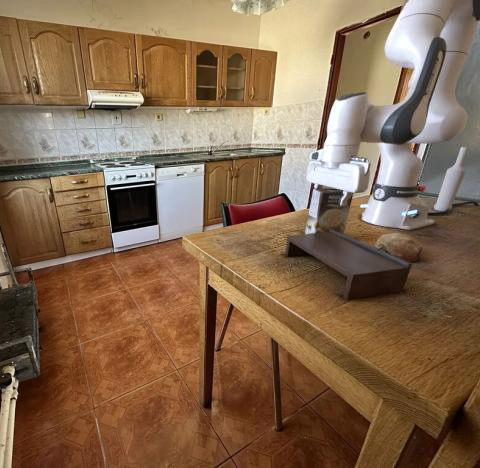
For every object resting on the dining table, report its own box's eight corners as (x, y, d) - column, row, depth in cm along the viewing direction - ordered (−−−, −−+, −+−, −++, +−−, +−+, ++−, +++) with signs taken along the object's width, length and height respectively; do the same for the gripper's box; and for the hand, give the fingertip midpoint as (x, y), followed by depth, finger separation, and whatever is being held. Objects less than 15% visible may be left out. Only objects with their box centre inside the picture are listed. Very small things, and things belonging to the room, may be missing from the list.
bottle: (439, 211, 106) (463, 147, 97) (430, 208, 111) (451, 147, 101) (454, 211, 105) (479, 147, 96) (443, 208, 110) (466, 146, 101)
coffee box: (312, 242, 82) (321, 192, 76) (304, 234, 88) (312, 188, 82) (342, 242, 81) (354, 192, 75) (332, 234, 87) (342, 187, 81)
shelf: (327, 249, 76) (332, 228, 74) (402, 290, 56) (412, 263, 54) (284, 255, 74) (287, 233, 72) (347, 299, 54) (354, 271, 52)
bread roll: (367, 260, 77) (365, 240, 73) (389, 241, 78) (389, 220, 75) (406, 275, 68) (407, 253, 64) (431, 253, 70) (433, 231, 66)
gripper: (382, 157, 66) (368, 209, 71) (323, 152, 85) (315, 194, 90) (361, 158, 65) (348, 211, 70) (306, 153, 84) (299, 195, 89)
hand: (329, 201), depth 80 cm, fingers open, 8 cm apart
